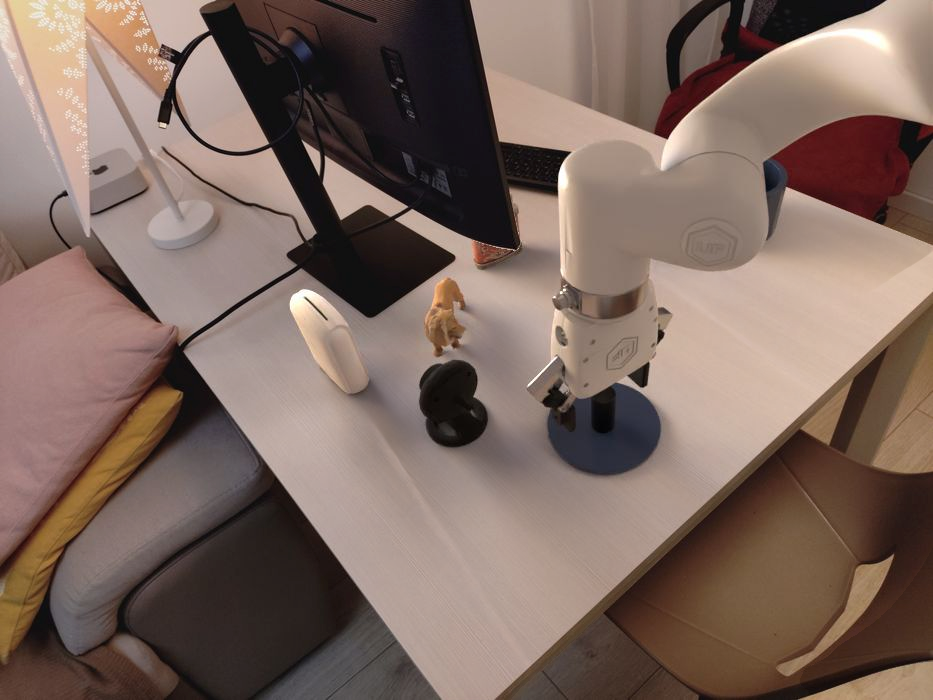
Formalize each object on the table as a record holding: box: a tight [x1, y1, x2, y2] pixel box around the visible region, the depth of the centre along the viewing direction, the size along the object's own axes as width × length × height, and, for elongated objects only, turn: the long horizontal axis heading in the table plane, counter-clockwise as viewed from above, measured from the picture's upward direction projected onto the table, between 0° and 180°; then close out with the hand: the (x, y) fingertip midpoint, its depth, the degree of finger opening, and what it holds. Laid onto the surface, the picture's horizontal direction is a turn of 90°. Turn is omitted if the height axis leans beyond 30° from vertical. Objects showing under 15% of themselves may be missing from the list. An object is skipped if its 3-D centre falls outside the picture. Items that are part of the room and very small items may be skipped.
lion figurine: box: [423, 277, 467, 357], centre depth 83 cm, size 15×5×9 cm, turn 4°
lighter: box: [471, 193, 523, 271], centre depth 92 cm, size 8×3×10 cm, turn 119°
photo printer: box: [289, 289, 371, 395], centre depth 80 cm, size 10×4×12 cm, turn 39°
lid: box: [546, 381, 662, 476], centre depth 69 cm, size 13×13×7 cm
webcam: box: [418, 359, 489, 448], centre depth 72 cm, size 8×8×10 cm
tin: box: [763, 157, 789, 242], centre depth 89 cm, size 12×12×8 cm
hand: (600, 400), depth 68 cm, fingers open, 9 cm apart
